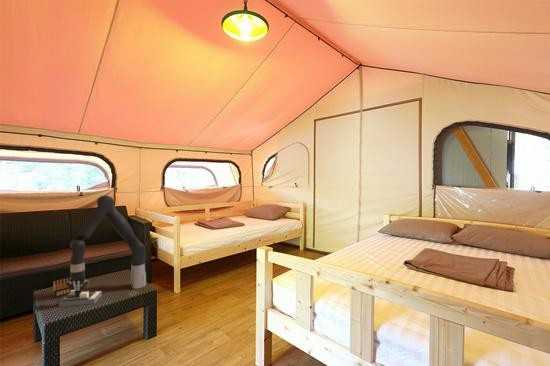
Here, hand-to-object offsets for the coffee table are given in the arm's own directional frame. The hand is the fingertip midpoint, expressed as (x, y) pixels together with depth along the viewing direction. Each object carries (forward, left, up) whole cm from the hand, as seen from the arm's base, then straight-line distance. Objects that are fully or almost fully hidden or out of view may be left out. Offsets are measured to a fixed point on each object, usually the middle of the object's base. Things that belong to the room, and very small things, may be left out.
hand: (77, 295), depth 170 cm
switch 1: (+4, -6, -2) cm, 8 cm away
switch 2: (-4, 0, -2) cm, 4 cm away
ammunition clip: (+15, -14, -5) cm, 22 cm away
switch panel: (-1, -3, -5) cm, 6 cm away
